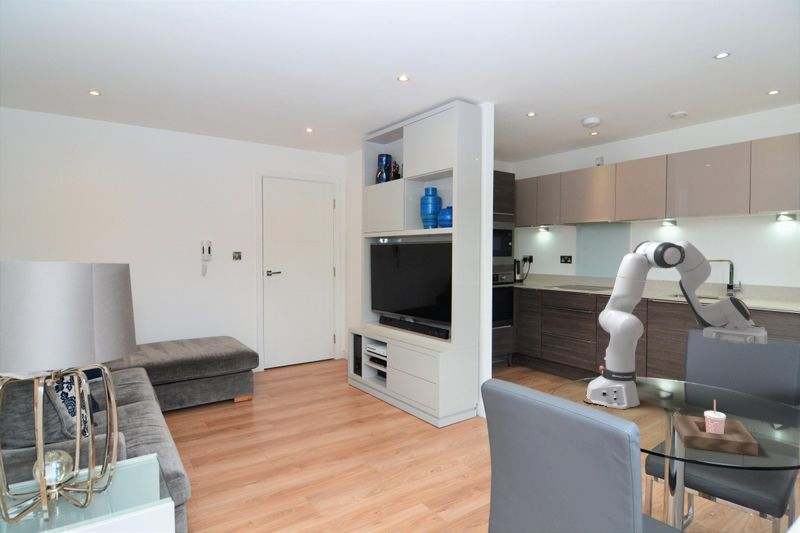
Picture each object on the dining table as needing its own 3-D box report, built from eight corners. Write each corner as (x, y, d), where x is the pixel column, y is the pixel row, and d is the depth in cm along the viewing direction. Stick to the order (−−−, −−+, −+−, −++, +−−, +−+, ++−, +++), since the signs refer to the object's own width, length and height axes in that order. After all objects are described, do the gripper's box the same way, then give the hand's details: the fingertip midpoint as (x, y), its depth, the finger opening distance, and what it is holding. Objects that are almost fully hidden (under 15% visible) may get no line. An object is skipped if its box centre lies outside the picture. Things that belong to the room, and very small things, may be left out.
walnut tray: (684, 446, 146) (684, 435, 146) (673, 424, 163) (673, 414, 163) (758, 455, 139) (758, 443, 139) (739, 431, 155) (739, 420, 155)
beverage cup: (699, 438, 152) (699, 398, 151) (711, 434, 154) (711, 395, 154) (718, 445, 146) (718, 404, 146) (730, 441, 149) (730, 400, 148)
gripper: (706, 321, 185) (698, 327, 175) (770, 327, 170) (764, 333, 160) (706, 336, 185) (698, 343, 175) (769, 343, 170) (764, 350, 161)
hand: (730, 338), depth 168 cm, fingers open, 8 cm apart
